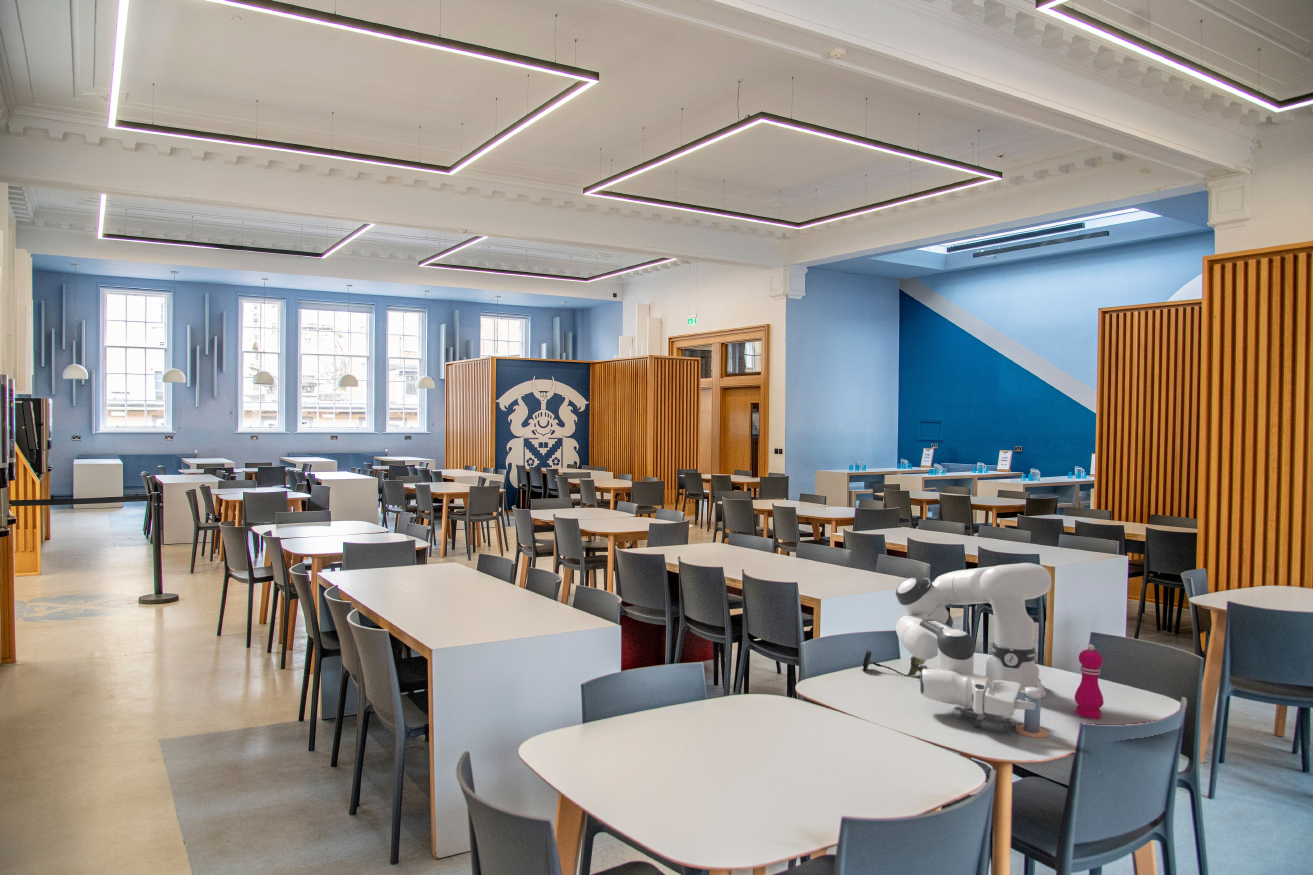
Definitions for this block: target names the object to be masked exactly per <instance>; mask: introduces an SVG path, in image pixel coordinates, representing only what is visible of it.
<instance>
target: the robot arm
mask: <svg viewBox="0 0 1313 875" xmlns="http://www.w3.org/2000/svg"><path fill="white" fill-rule="evenodd" d="M1051 576H1052V575H1051V574H1050V572H1049V570H1048V569H1047V568H1045V567H1044V566H1043V565H1040V564H1036V563H1031V562H1022V563H1021V562H1020V563H1010V564H999V565H998V564H997V565H994V566H988V567H987V566H985V567H976V568H968V569H960V570H954V571H950V572H946V573H943V574H941V575H939V576H937V577H936V578H935V579H934V581H932V580H931V579H929V578H928V577H917V576H916V577H907V578H906V579H904V580H903V581H901V583H899V584H898V585H897V587H896V590H895V596H896V599H897V601H898V602H899V604H900V605H902V607H903V609H904V610H905V612H906V613H907V614H906V615H903V616H902V617H900V619H898V621H897V622H896V626H895V631H896V635H897V637H898V639H899V641H900V643H901V645H902V646H903V647H904V648H905V649H906V650H907V652H908V653H909V654H910V655H911V656H912V657H913V656H914V657H916V658H918V659H921V660H926V661H928V660H932V659H934V658H935V657H937V667H936V668H931V669H922V671H921V673H920V676H919V677H920V679H919V680H920V683H919V685H920V687H919V690H920V693H921V696H922V697H924V698H926V699H930V700H932V701H935V702H939V703H944V704H948V705H961V706H963V707H965V708H968V709H972V711H974V712H975V713H978V714H983V713H985V714H988V715H995V716H1003V717H1011V716H1014V714H1015V711H1016V710H1025V709H1030V710H1035V708H1036V703H1035V702H1032V701H1025V687H1036V688H1039V689H1041V690H1042V696H1041V698H1046V697H1047V694H1046V691H1045V688H1044V686H1043V684H1042V682H1041V678H1040V668H1039V666H1038V665H1037V664H1036V662H1035V659H1036V648H1035V646H1034V643H1035V642H1034V641H1035V622H1034V620H1033V618H1032V617H1031V616H1029V614H1028V612H1027V609H1026V601H1027V600H1034V599H1037V598H1039V597H1041V596H1043V595H1045V594H1047V593H1048V592H1049V591H1050V590H1051V587H1052V577H1051ZM989 603H990V604H991V608H992V613H993V618H994V635H993V636H994V641H993V642H992V645H991V656H990V658H988V659H987V660H986V665H985V676H983V675H977V674H974V667H975V666H974V665H975V664H974V663H975V662H974V661H975V660H974V658H975V657H974V654H975V646H976V641H975V639H974V638H973V637H972V635H971V634H969V633H968V632H967V631H964V630H962V629H958V628H954V627H953V625H954V621H953V617H952V616H951V613H950V612H949V611H948V610H947V608H946V606H949V605H956V606H957V605H958V606H960V605H961V606H965V605H976V604H989Z"/></svg>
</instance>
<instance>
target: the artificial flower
mask: <svg viewBox="0 0 1313 875" xmlns="http://www.w3.org/2000/svg"><path fill="white" fill-rule="evenodd" d="M871 657H872V651H870V650H868V649H867V650H866V652H865V655H864V659H863V661H862V662H863V664H862V666H863V667H862V671H865V672H866V671H867V670H868V668H869V665H870V663H871V664H873V665H874V666H876V667H881V668H882V667H883V668H886V669H888V670H891V671H894V672H895V673H897V674H899V675H901V676H903V675H904V677H911V676H915V675H916V674H917V672H918V671H919V673H920V674H921V671H922V669H932V667H931V668H930V667H929V668H928V666H927V665H924V664H925V662H926V661H927V660H921V659H918V658H916V657H914V656H913V655H912V656H910V668H909V670H908V673H907V674H905V673H903V672H900V671H898V670H896V669H894V668H892V667H890V666H886V665H883V664H880V663H877V662H873V661H871V660H872V659H871Z"/></svg>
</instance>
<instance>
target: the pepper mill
mask: <svg viewBox="0 0 1313 875" xmlns="http://www.w3.org/2000/svg"><path fill="white" fill-rule="evenodd" d="M1078 661H1079V663H1080V664H1081V665H1080V670H1079V671H1080V672H1081V680H1080V683H1079V686H1078V688H1076V691H1075V693H1074V701H1075V703H1076V704H1077V706H1075V713H1077V714H1078V716H1079V715H1080V717H1081V716H1083V717H1082V718H1085V717H1087V718H1086V719H1090V718H1092V719H1091V720H1099V719H1101V717H1102V710H1101V708H1102V707H1103V705H1104V695H1103V693H1102V691H1101V689H1100V685H1099V675H1101V668H1100V667H1101V666H1102V665H1103V663H1104V662H1103V656H1102V654H1101V653H1100V652H1098V651H1097V650H1096V649H1095V646H1094V645H1093V644H1088V646H1087V649H1084V650H1082V651H1081V652H1079V655H1078ZM1077 714H1076V715H1077Z"/></svg>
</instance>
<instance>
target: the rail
mask: <svg viewBox="0 0 1313 875" xmlns="http://www.w3.org/2000/svg"><path fill="white" fill-rule="evenodd" d="M953 707H954V711H953V712H954V713H953V717H954V718H956V719H963V720H969V721H973V722H974V728H975V729H978V730H982V731H987V732H992V733H996V734H997V733H998V734H1003V735H1006V736H1011V733H1012V730H1015V718H1013V717H1011V716H1004V724H1003V723H998V722H995V721H994V722H993V721H988V720H986V716H987V713H985V712H984V713H983V714H978V713H975V712H974V710H969V709H964V707H962V706H953Z"/></svg>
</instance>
